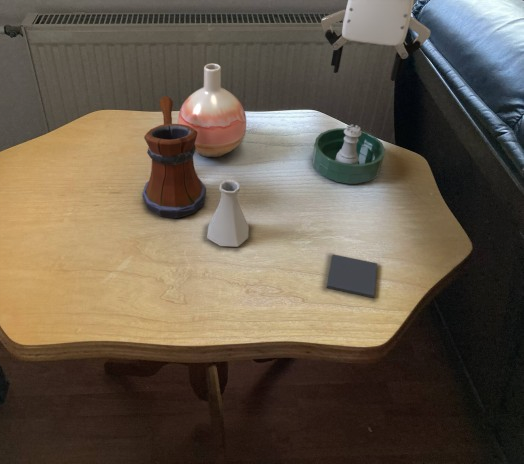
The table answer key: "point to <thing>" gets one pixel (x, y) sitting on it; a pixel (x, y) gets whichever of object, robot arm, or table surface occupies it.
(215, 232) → the flask
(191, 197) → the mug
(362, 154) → the bowl
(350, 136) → the rook chess piece
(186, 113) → the vase
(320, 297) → the table surface
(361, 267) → the mat
